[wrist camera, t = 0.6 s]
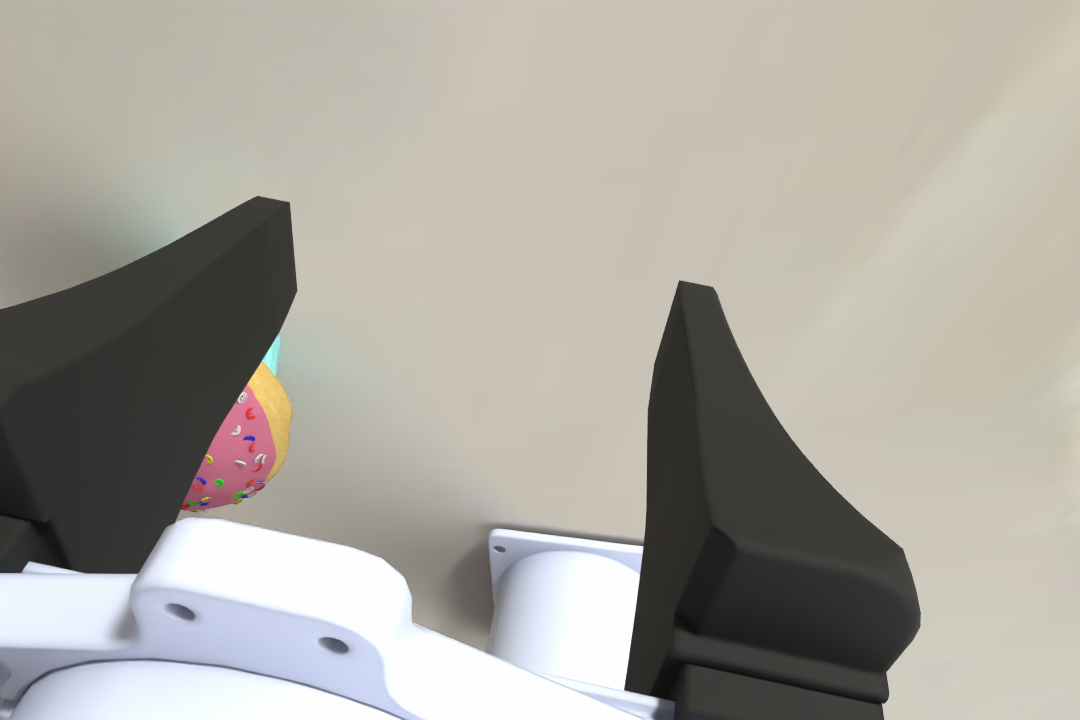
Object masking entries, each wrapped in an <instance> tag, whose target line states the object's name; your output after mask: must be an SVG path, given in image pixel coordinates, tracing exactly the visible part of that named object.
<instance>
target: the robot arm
mask: <svg viewBox="0 0 1080 720" xmlns="http://www.w3.org/2000/svg"><path fill="white" fill-rule="evenodd" d="M296 293H297V283H296V271H295V259H294V247H293V236H292V224H291V212H290V202H285V201H280V200H275V199H270V198H265V197H260V196H256V197H254V198H252V199H250V200H248V201H246V202H244V203H243V204H241V205H239V206H237V207H235V208H234V209H232V210H230V211H228V212H226V213H225V214H223V215H221V216H219V217H218V218H216V219H214V220H212V221H211V222H209V223H207V224H205V225H203V226H202V227H200V228H198V229H196V230H194V231H193V232H191V233H189V234H187V235H185V236H184V237H182V238H180V239H178V240H176V241H175V242H173V243H171V244H169V245H167V246H165V247H163V248H161V249H159V250H157V251H155V252H153V253H151V254H149V255H147V256H144V257H142V258H140V259H138V260H136V261H134V262H132V263H130V264H128V265H126V266H124V267H122V268H120V269H117V270H115V271H113V272H110V273H108V274H106V275H103V276H101V277H98V278H96V279H93V280H90V281H88V282H85V283H83V284H80V285H77V286H75V287H72V288H69V289H66V290H64V291H60V292H57V293H54V294H51V295H47V296H44V297H41V298H38V299H34V300H31V301H28V302H25V303H21V304H18V305H15V306H11V307H8V308H4V309H0V720H884V715H883V708H882V703H884V704H885V702H886V701H887V700H888V697H889V688H888V682H887V675H886V672H887V671H888V670H889V668H890V667H891V666H892V665H893V663H894V662H895V661H896V660H897V659H898V657H899V656H900V655H901V654H902V653H903V651H904V650H905V649H906V648H907V647H908V645H909V644H910V643H911V642H912V641H913V639H914V637H915V635H916V634H917V632H918V630H919V628H920V615H921V612H920V607H919V602H918V597H917V592H916V588H915V584H914V581H913V577H912V574H911V571H910V568H909V566H908V563H907V560H906V557H905V554H904V550H903V549H902V548H901V547H900V546H899V545H897V544H896V543H895V542H894V541H893V540H891V539H890V538H889V537H888V536H887V535H885V534H884V533H883V532H882V531H881V530H879V529H878V528H877V527H876V526H874V525H873V524H872V523H871V522H870V521H868V520H867V519H866V518H865V517H864V516H863V515H861V514H860V513H859V512H858V511H857V510H856V509H855V508H854V507H853V506H852V505H851V504H850V503H849V502H848V501H847V500H846V499H845V498H844V497H843V496H841V495H840V494H839V493H838V492H837V491H836V490H835V489H834V488H833V487H832V485H831V484H830V483H829V482H828V481H827V480H826V479H825V478H824V477H823V476H822V475H821V474H820V473H819V471H818V470H817V469H816V468H815V467H814V466H813V464H812V463H811V462H810V461H809V460H808V459H807V458H806V456H805V455H804V454H803V453H802V452H801V450H800V449H799V448H798V447H797V445H796V444H795V443H794V442H793V440H792V439H791V438H790V436H789V435H788V433H787V432H786V431H785V429H784V428H783V426H782V425H781V424H780V422H779V421H778V419H777V418H776V416H775V414H774V413H773V411H772V410H771V408H770V406H769V405H768V403H767V402H766V400H765V398H764V396H763V395H762V393H761V391H760V389H759V388H758V386H757V384H756V382H755V380H754V379H753V377H752V375H751V373H750V371H749V369H748V367H747V365H746V363H745V361H744V359H743V357H742V354H741V352H740V350H739V348H738V346H737V344H736V342H735V339H734V337H733V335H732V332H731V330H730V327H729V325H728V323H727V320H726V317H725V315H724V312H723V310H722V307H721V304H720V301H719V298H718V295H717V293H716V291H715V290H714V288H713V287H710V286H705V285H700V284H695V283H690V282H685V281H680V280H679V283H678V286H677V290H676V293H675V296H674V300H673V303H672V306H671V310H670V313H669V317H668V320H667V323H666V327H665V330H664V333H663V337H662V340H661V343H660V347H659V350H658V354H657V357H656V360H655V364H654V371H653V377H652V384H651V391H650V399H649V406H648V434H647V511H646V527H645V537H644V546H636V545H628V544H620V543H612V542H603V541H595V540H587V539H579V538H571V537H563V536H555V535H547V534H539V533H531V532H523V531H514V530H506V529H494V530H492V531H490V533H489V537H488V549H489V560H490V571H491V582H492V593H493V604H494V614H493V618H492V623H491V627H490V631H489V636H488V640H487V644H486V649H485V652H483V651H481V650H478V649H476V648H473V647H471V646H469V645H466V644H464V643H461V642H459V641H457V640H454V639H452V638H449V637H447V636H445V635H442V634H440V633H437V632H435V631H433V630H430V629H428V628H425V627H423V626H421V625H418V624H416V623H413V622H412V617H411V609H412V596H411V593H410V591H409V588H408V586H407V583H406V581H405V578H404V577H403V576H402V574H401V573H399V572H398V571H397V570H396V569H394V568H393V567H392V566H391V565H389V564H388V563H387V562H386V561H384V560H383V559H382V558H381V557H378V556H375V555H372V554H370V553H367V552H364V551H362V550H359V549H356V548H354V547H350V546H345V545H340V544H335V543H331V542H326V541H321V540H317V539H312V538H307V537H303V536H298V535H293V534H289V533H284V532H279V531H275V530H270V529H265V528H261V527H256V526H251V525H247V524H242V523H237V522H233V521H228V520H223V519H219V518H200V517H189V518H184V519H182V520H180V521H178V522H176V523H175V521H176V519H177V516H178V514H179V512H180V510H181V507H182V505H183V503H184V501H185V498H186V496H187V494H188V492H189V489H190V487H191V485H192V483H193V480H194V478H195V476H196V474H197V472H198V470H199V468H200V466H201V464H202V462H203V460H204V457H205V455H206V453H207V451H208V449H209V447H210V445H211V443H212V441H213V439H214V437H215V435H216V434H217V432H218V430H219V428H220V427H221V425H222V423H223V421H224V420H225V418H226V417H227V415H228V413H229V412H230V410H231V409H232V407H233V406H234V404H235V403H236V401H237V399H238V398H239V396H240V395H241V393H242V392H243V390H244V388H245V387H246V385H247V384H248V382H249V381H250V379H251V377H252V376H253V374H254V373H255V371H256V370H257V368H258V366H259V365H260V363H261V362H262V360H263V358H264V357H265V355H266V354H267V352H268V350H269V349H270V347H271V346H272V344H273V342H274V341H275V339H276V337H277V336H278V334H279V332H280V329H281V327H282V325H283V323H284V321H285V319H286V316H287V314H288V312H289V309H290V307H291V305H292V302H293V300H294V297H295V295H296Z"/></svg>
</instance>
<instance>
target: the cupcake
mask: <svg viewBox="0 0 1080 720" xmlns="http://www.w3.org/2000/svg"><path fill="white" fill-rule="evenodd" d="M279 352H280V335H279V334H278V336H277V337H276V339H275V341H274V342H273V344H272V346H271V347H270V349H269V350H268V352H267V354H266V355H265V357H264V358H263V360H262V362H261V363H260V365H259V366H258V368H257V370H256V371H255V373H254V374H253V376H252V377H251V379H250V381H249V382H248V384H247V385H246V387H245V388H244V390H243V392H242V393H241V395H240V396H239V398H238V399H237V401H236V403H235V404H234V406H233V407H232V409H231V410H230V412H229V413H228V415H227V417H226V418H225V420H224V421H223V423H222V425H221V427H220V428H219V430H218V432H217V434H216V435H215V437H214V439H213V441H212V443H211V445H210V447H209V449H208V451H207V453H206V455H205V457H204V460H203V462H202V464H201V466H200V468H199V470H198V472H197V474H196V476H195V478H194V480H193V483H192V485H191V487H190V489H189V492H188V494H187V496H186V498H185V501H184V503H183V505H182V507H181V510H189V511H192V512H199V510H200V511H203V512H207V511H206V510H204V509H209V508H215V507H219V506H223V505H227V504H231V503H233V504H238V503H240V502H242V500H243V499H244V498H248V497H252V496H254V495H255V494H256V492H257V491H259V490H261V489H262V488H263V487H264V486H265V484H266V483H267V482H269V481H270V480H271V479H272V478H273V477H274V476H275V475H276V474H277V473H278V471H279V470H280V468H281V467H282V465H283V463H284V460H285V458H286V455H287V451H288V447H289V440H290V436H289V427H290V422H291V418H292V412H293V411H292V405H291V403H290V400H289V398H288V396H287V394H286V392H285V390H284V388H283V386H282V385H281V383H280V382H279V380H278V379H277V378H276V372H277V364H278V358H279ZM251 494H252V495H251ZM237 501H238V502H237Z"/></svg>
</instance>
